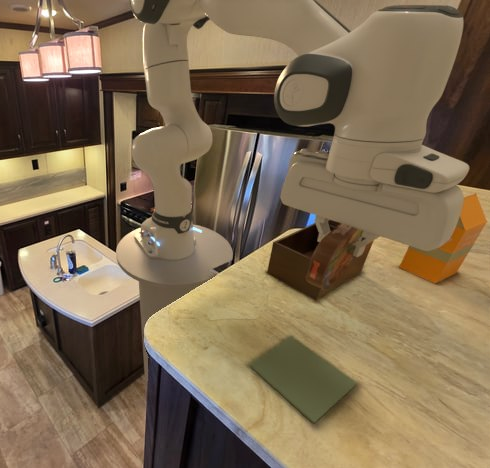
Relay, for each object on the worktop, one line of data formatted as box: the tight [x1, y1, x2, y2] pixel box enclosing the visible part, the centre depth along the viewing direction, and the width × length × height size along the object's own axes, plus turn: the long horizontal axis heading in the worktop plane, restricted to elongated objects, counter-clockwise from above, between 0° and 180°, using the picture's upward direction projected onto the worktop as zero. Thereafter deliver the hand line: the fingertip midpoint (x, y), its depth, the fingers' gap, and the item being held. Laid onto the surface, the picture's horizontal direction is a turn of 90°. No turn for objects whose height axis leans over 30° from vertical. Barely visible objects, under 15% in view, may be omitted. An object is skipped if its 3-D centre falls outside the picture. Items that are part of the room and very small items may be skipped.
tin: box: [306, 223, 364, 290], centre depth 45 cm, size 15×3×8 cm, turn 127°
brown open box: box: [266, 222, 375, 301], centre depth 73 cm, size 19×13×10 cm
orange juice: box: [398, 193, 488, 284], centre depth 68 cm, size 8×9×20 cm
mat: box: [249, 336, 358, 425], centre depth 51 cm, size 12×12×1 cm
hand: (338, 248), depth 44 cm, fingers closed on tin, 3 cm apart
